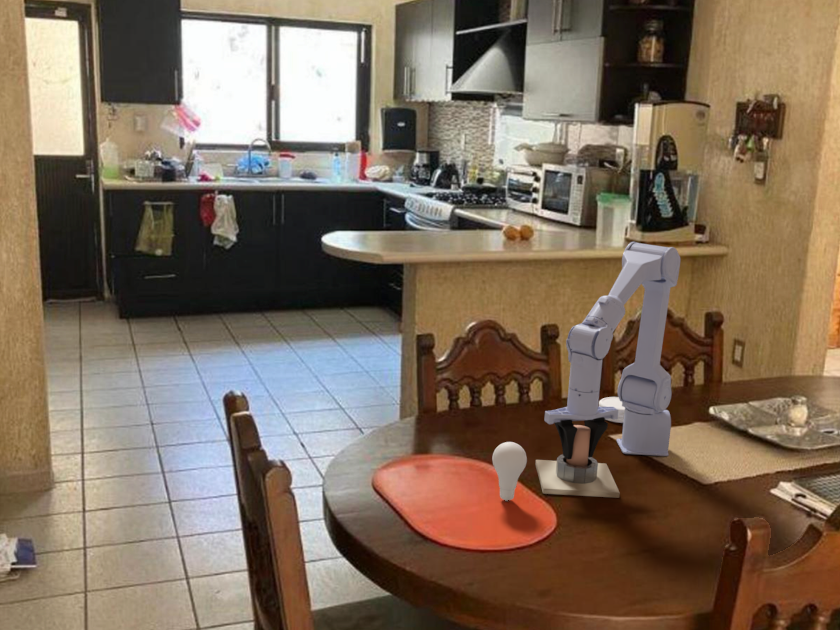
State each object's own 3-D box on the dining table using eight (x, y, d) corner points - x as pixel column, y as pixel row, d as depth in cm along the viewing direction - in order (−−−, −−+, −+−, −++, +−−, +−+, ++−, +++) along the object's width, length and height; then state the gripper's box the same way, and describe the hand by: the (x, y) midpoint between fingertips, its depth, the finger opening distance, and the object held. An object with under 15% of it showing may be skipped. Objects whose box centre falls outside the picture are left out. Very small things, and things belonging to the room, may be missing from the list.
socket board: (605, 468, 178) (607, 449, 177) (619, 497, 164) (621, 477, 163) (535, 464, 178) (536, 445, 177) (543, 493, 164) (544, 473, 163)
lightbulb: (501, 510, 156) (505, 451, 154) (483, 496, 162) (486, 439, 159) (530, 504, 159) (534, 446, 157) (511, 491, 165) (515, 435, 162)
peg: (580, 463, 173) (584, 424, 171) (590, 471, 169) (594, 431, 168) (562, 465, 172) (565, 425, 170) (572, 473, 168) (575, 432, 166)
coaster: (608, 407, 217) (609, 393, 216) (647, 416, 211) (648, 402, 210) (590, 417, 209) (592, 403, 208) (631, 427, 203) (632, 412, 202)
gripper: (607, 379, 173) (600, 445, 176) (539, 383, 168) (534, 451, 171) (626, 390, 166) (619, 459, 169) (556, 395, 162) (550, 465, 165)
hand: (577, 456), depth 170 cm, fingers closed on peg, 4 cm apart
